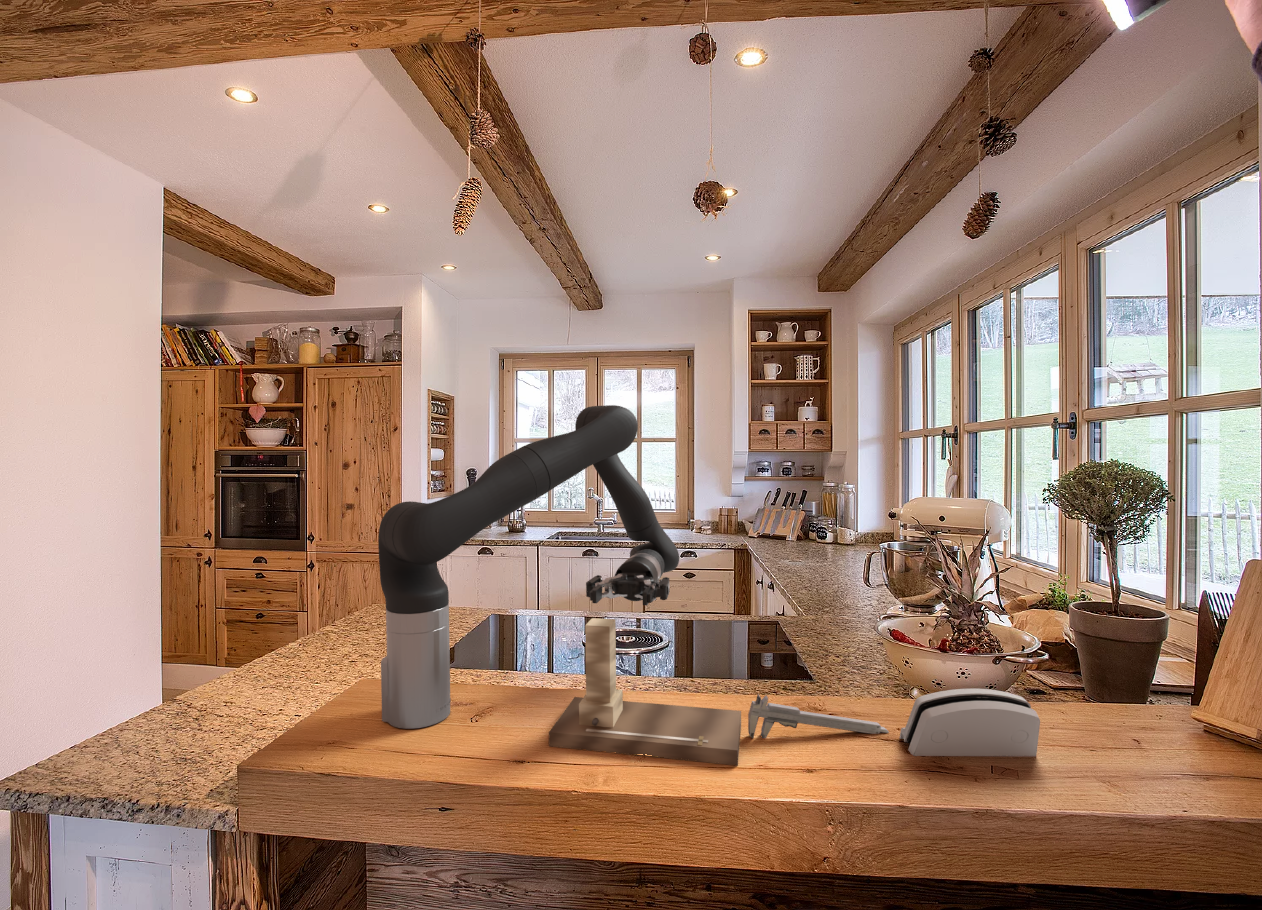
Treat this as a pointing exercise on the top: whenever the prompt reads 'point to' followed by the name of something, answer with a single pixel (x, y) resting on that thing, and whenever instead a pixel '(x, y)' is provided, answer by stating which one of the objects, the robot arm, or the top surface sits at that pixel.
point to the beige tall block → (600, 676)
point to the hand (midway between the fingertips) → (619, 598)
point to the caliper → (802, 719)
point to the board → (656, 732)
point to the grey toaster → (972, 724)
